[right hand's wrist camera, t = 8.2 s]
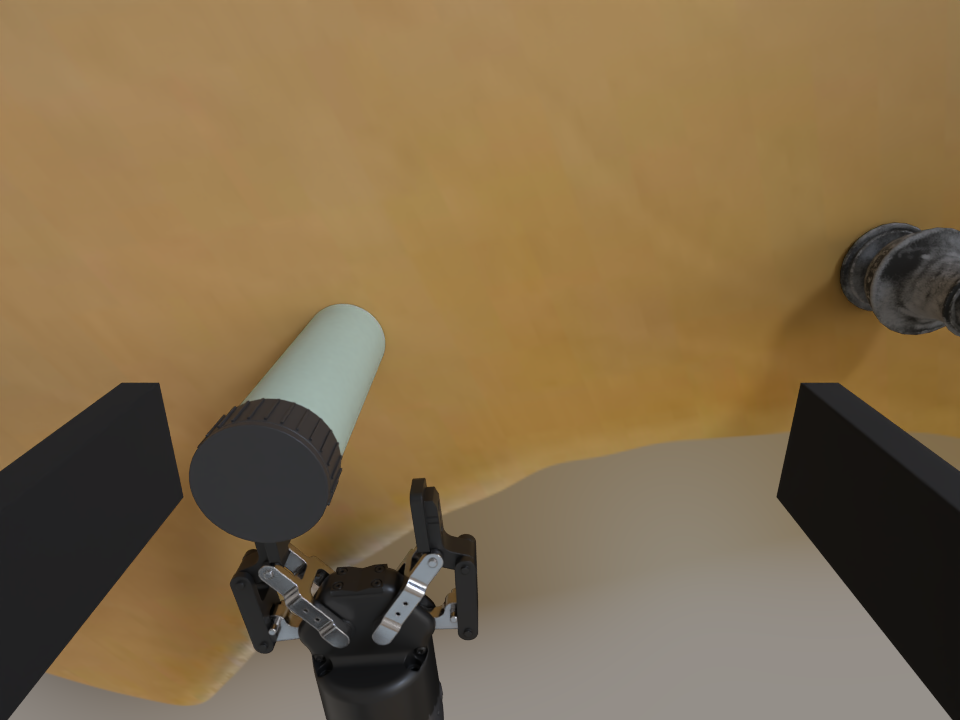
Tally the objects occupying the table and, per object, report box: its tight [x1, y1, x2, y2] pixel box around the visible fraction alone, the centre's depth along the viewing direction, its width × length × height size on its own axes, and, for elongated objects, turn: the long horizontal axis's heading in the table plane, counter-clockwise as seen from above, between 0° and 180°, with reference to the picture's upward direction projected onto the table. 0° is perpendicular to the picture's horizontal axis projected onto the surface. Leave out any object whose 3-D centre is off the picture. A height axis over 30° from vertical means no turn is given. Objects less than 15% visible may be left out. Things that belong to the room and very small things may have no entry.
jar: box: [240, 304, 385, 456], centre depth 30 cm, size 5×5×16 cm
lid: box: [189, 398, 342, 543], centre depth 24 cm, size 5×5×2 cm
